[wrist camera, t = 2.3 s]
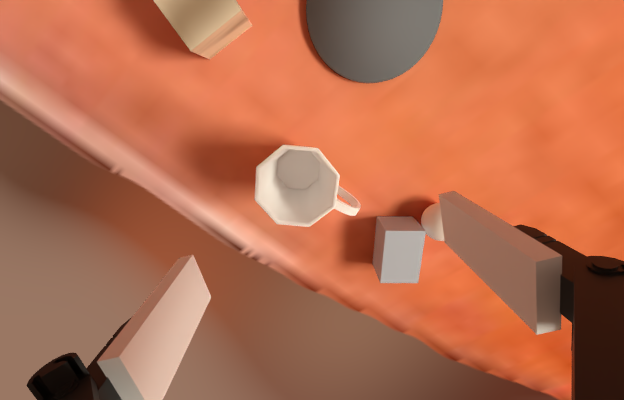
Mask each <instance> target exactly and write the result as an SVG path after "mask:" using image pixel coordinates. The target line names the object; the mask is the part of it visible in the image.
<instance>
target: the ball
mask: <svg viewBox="0 0 624 400" xmlns="http://www.w3.org/2000/svg"><path fill="white" fill-rule="evenodd" d="M421 225H422V227H423V228H424V230H425V231H426V234H427V235H428V236H429V237H430V238H432V239H435V240H438V241H444V233H443V225H442V216H441V208H440V203H435V204H432V205H430V206H429V207H427V208H426V209H425V211H424V212H423V214H422V217H421Z"/></svg>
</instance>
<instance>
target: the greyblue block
mask: <svg viewBox="0 0 624 400" xmlns="http://www.w3.org/2000/svg"><path fill="white" fill-rule="evenodd" d="M425 234H426V231H425V230H424V228H423V227H422V226H421V225H420V224H419V223H418V222H417V221H416V220H415V219H414V218H413V216H377V220H376V231H375V242H374V253H373V266H374V269H375V271H376V274H377V276H378V278H379V281H380V283H418V280H419V273H420V267H421V260H422V253H423V247H424V240H425Z"/></svg>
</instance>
